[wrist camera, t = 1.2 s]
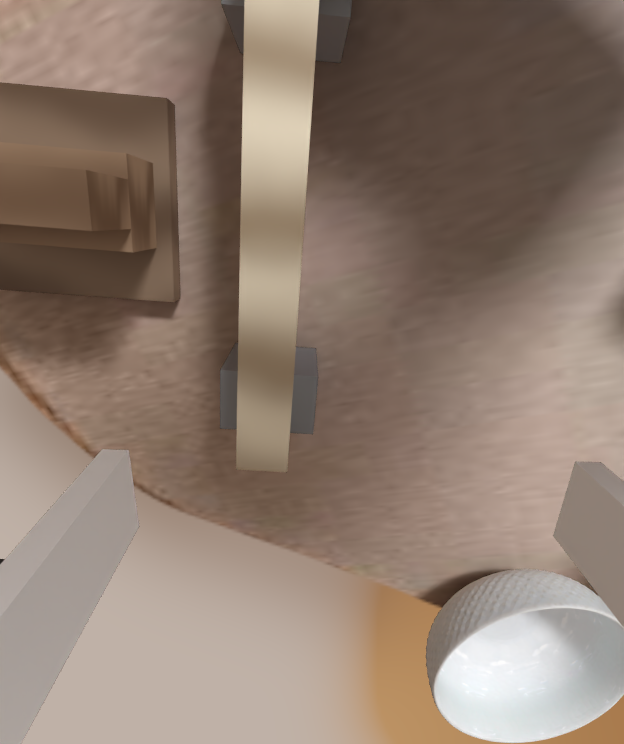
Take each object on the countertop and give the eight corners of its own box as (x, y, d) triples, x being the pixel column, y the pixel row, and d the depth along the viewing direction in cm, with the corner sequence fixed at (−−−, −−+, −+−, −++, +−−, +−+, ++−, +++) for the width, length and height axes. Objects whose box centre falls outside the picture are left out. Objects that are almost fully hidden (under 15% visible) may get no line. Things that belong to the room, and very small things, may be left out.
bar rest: (241, -32, 23) (221, -112, 18) (347, -21, 24) (360, -96, 18) (235, 392, 32) (220, 428, 27) (311, 397, 33) (313, 434, 27)
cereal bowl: (448, 686, 44) (474, 767, 38) (384, 581, 39) (400, 655, 33) (605, 630, 42) (662, 707, 35) (559, 511, 37) (615, 575, 30)
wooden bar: (257, -140, 18) (248, -209, 15) (328, -131, 18) (332, -198, 15) (243, 443, 27) (235, 469, 24) (289, 446, 27) (287, 472, 24)
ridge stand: (-26, 86, 25) (-223, 6, 16) (174, 104, 26) (98, 38, 16) (8, 285, 29) (-132, 316, 20) (180, 298, 30) (122, 334, 20)
